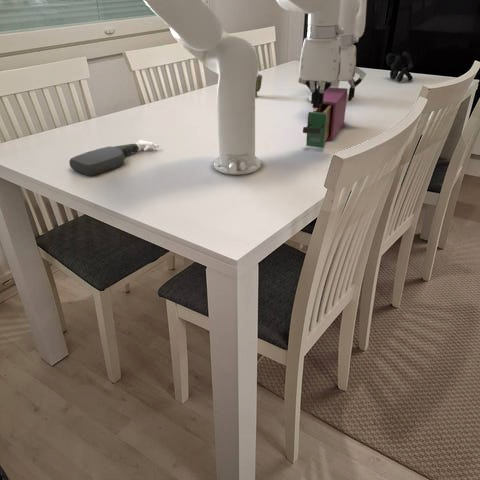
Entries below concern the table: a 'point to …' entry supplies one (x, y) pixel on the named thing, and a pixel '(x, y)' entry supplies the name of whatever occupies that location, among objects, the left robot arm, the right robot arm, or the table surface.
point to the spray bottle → (106, 157)
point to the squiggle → (399, 66)
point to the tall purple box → (336, 108)
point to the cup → (258, 83)
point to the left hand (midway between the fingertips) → (316, 106)
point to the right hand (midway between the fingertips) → (335, 98)
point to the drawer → (319, 125)
